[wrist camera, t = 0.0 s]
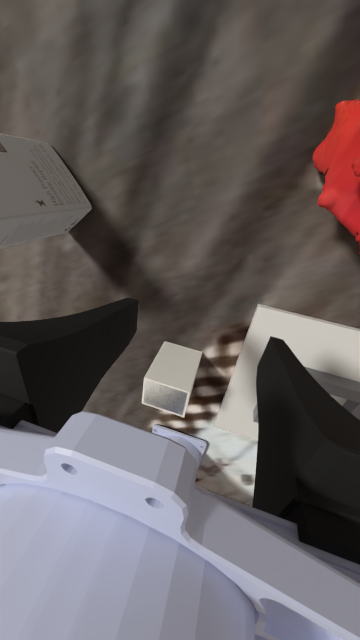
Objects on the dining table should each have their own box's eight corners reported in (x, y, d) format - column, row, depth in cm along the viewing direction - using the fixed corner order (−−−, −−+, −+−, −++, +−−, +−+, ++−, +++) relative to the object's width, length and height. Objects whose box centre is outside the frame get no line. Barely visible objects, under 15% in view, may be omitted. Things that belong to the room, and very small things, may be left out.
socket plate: (342, 465, 29) (348, 483, 27) (214, 423, 31) (211, 436, 29) (455, 352, 19) (474, 368, 17) (257, 303, 22) (258, 313, 20)
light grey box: (196, 375, 28) (183, 417, 23) (161, 364, 28) (141, 403, 23) (202, 352, 26) (190, 392, 21) (164, 341, 27) (144, 377, 22)
